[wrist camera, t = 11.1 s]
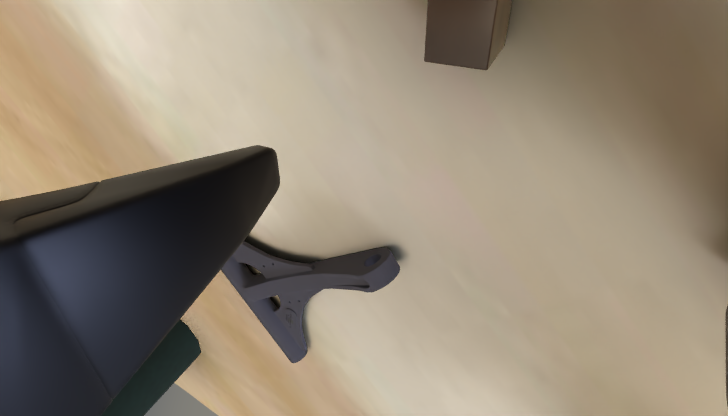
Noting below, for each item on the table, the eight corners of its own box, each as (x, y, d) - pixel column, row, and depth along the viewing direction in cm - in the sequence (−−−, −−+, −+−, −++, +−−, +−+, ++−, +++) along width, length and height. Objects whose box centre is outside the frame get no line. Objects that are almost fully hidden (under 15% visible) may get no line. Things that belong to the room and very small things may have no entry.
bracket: (452, 339, 29) (439, 373, 27) (297, 348, 38) (279, 374, 36) (341, 147, 25) (316, 170, 22) (196, 209, 33) (168, 229, 31)
